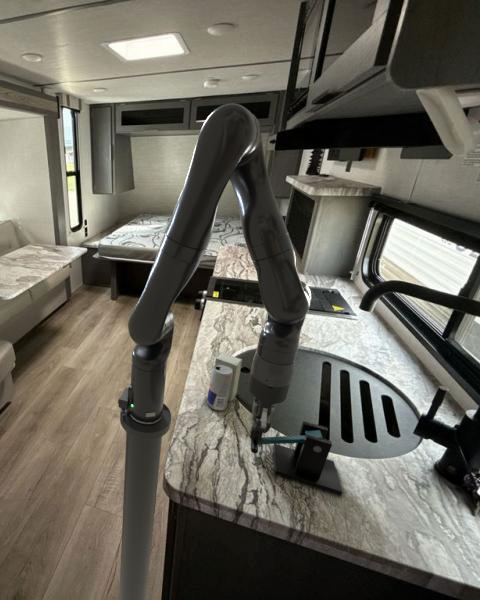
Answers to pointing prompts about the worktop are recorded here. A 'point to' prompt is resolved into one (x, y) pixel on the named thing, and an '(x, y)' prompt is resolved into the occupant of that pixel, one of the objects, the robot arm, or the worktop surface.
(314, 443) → the black lever stand
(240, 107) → the robot arm
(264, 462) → the worktop surface
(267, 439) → the black and teal hammer
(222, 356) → the cosmetic box
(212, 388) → the energy drink
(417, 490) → the worktop surface
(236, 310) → the worktop surface
